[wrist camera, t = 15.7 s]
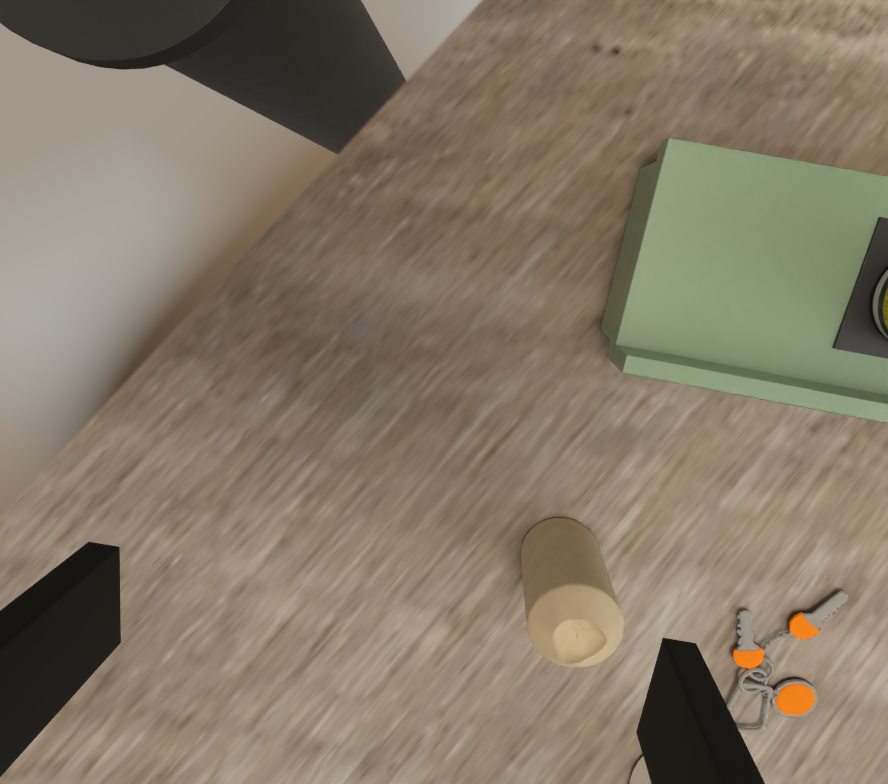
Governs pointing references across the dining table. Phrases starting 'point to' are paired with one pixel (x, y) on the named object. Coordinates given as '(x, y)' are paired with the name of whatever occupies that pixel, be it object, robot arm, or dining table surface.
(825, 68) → the dining table surface
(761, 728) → the key chain
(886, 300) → the supplement bottle
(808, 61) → the dining table surface
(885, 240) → the green l-shaped stand
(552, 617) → the candle
